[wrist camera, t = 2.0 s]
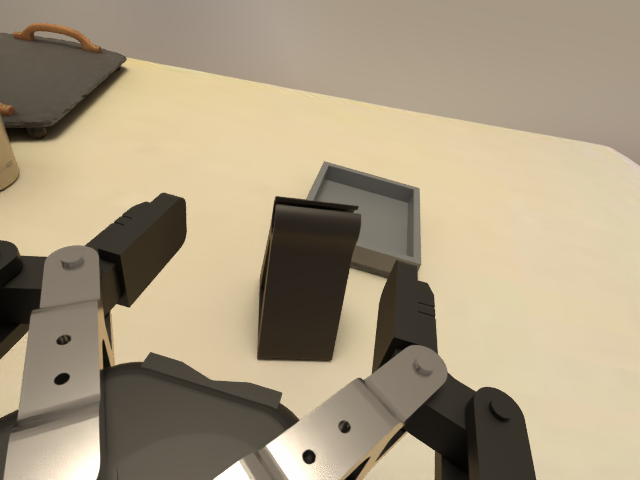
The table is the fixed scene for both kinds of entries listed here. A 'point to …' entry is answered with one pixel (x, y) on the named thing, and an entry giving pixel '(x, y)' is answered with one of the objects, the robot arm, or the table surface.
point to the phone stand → (305, 277)
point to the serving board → (48, 76)
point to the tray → (375, 216)
